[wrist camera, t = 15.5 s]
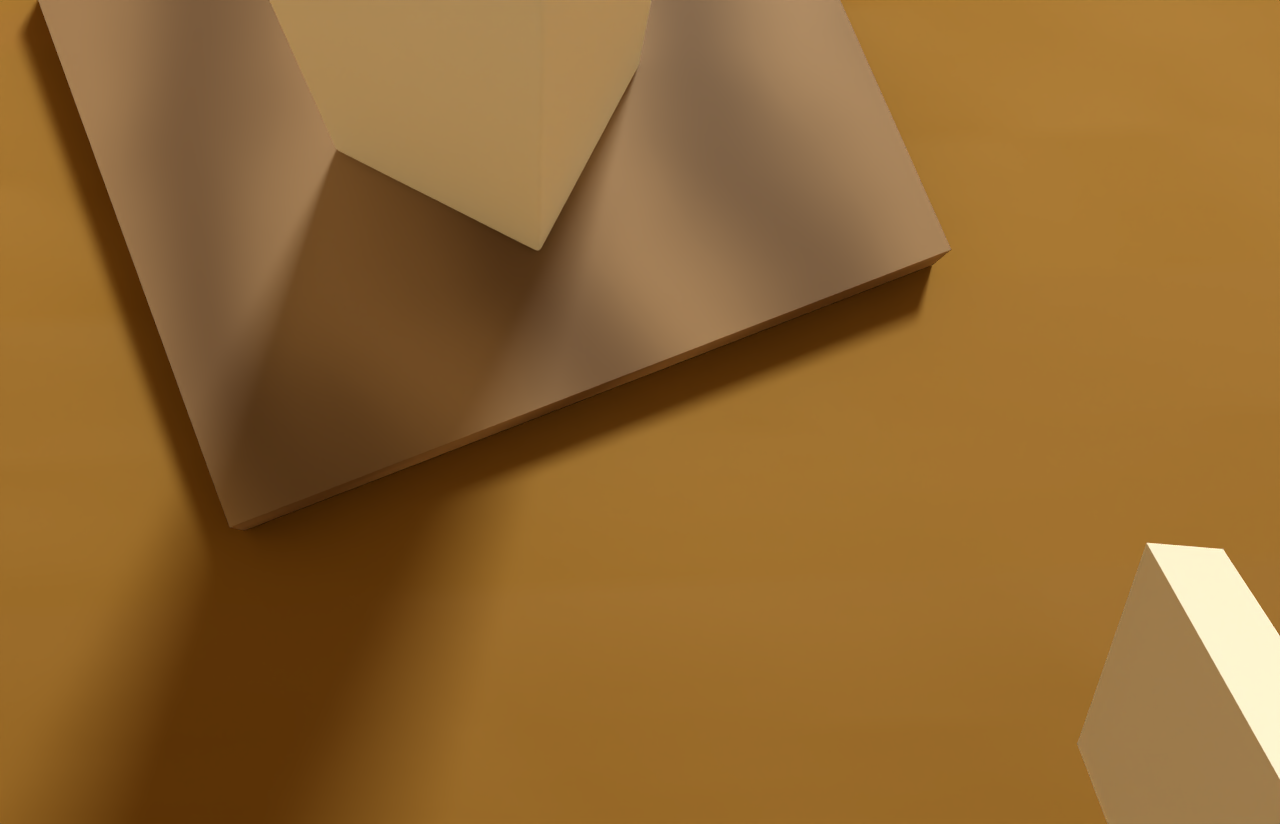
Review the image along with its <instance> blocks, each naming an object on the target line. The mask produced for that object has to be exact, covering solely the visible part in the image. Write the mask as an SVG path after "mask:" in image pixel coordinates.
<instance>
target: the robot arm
mask: <svg viewBox="0 0 1280 824" xmlns="http://www.w3.org/2000/svg"><path fill="white" fill-rule="evenodd" d="M1077 744H1078V747H1079V750H1080V752H1081V755H1082V758H1083V760H1084V763H1085V765H1086V768H1087V771H1088V773H1089V776H1090V779H1091V781H1092V784H1093V786H1094V789H1095V792H1096V794H1097V797H1098V800H1099V802H1100V805H1101V808H1102V810H1103V813H1104V815H1105V818H1106V821H1107V823H1108V824H1280V636H1279V634H1278V633H1277V631H1276V630H1275V628H1274V627H1273V625H1272V624H1271V622H1270V620H1269V619H1268V617H1267V616H1266V614H1265V613H1264V611H1263V610H1262V608H1261V607H1260V605H1259V604H1258V602H1257V601H1256V599H1255V598H1254V596H1253V594H1252V593H1251V591H1250V590H1249V588H1248V587H1247V585H1246V584H1245V582H1244V581H1243V579H1242V578H1241V576H1240V575H1239V573H1238V572H1237V570H1236V568H1235V567H1234V565H1233V564H1232V562H1231V561H1230V559H1229V558H1228V556H1227V555H1226V553H1225V552H1224V550H1223V549H1214V548H1202V547H1190V546H1178V545H1166V544H1154V543H1147V544H1146V546H1145V549H1144V552H1143V555H1142V558H1141V561H1140V564H1139V567H1138V570H1137V573H1136V575H1135V578H1134V581H1133V584H1132V587H1131V590H1130V593H1129V596H1128V599H1127V602H1126V604H1125V607H1124V610H1123V613H1122V616H1121V619H1120V622H1119V625H1118V628H1117V630H1116V633H1115V636H1114V639H1113V642H1112V645H1111V648H1110V651H1109V654H1108V657H1107V659H1106V662H1105V665H1104V668H1103V671H1102V674H1101V677H1100V680H1099V683H1098V686H1097V688H1096V691H1095V694H1094V697H1093V700H1092V703H1091V706H1090V709H1089V712H1088V714H1087V717H1086V720H1085V723H1084V726H1083V729H1082V732H1081V735H1080V738H1079V741H1078V743H1077Z"/></svg>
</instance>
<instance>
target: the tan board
mask: <svg viewBox="0 0 1280 824" xmlns="http://www.w3.org/2000/svg"><path fill="white" fill-rule="evenodd" d="M38 1H39V4H40V7H41V10H42V12H43V15H44V18H45V21H46V23H47V26H48V29H49V32H50V34H51V37H52V40H53V43H54V45H55V48H56V51H57V54H58V56H59V59H60V62H61V65H62V67H63V70H64V73H65V76H66V78H67V81H68V84H69V87H70V89H71V92H72V95H73V98H74V101H75V103H76V106H77V109H78V112H79V114H80V117H81V120H82V123H83V125H84V128H85V131H86V134H87V136H88V139H89V142H90V145H91V147H92V150H93V153H94V156H95V158H96V161H97V164H98V167H99V169H100V172H101V175H102V178H103V180H104V183H105V186H106V189H107V191H108V194H109V197H110V200H111V202H112V205H113V208H114V211H115V213H116V216H117V219H118V222H119V224H120V227H121V230H122V233H123V235H124V238H125V241H126V244H127V246H128V249H129V252H130V255H131V257H132V260H133V263H134V266H135V269H136V271H137V274H138V277H139V280H140V282H141V285H142V288H143V291H144V293H145V296H146V299H147V302H148V304H149V307H150V310H151V313H152V315H153V318H154V321H155V324H156V326H157V329H158V332H159V335H160V337H161V340H162V343H163V346H164V348H165V351H166V354H167V357H168V359H169V362H170V365H171V368H172V370H173V373H174V376H175V379H176V381H177V384H178V387H179V390H180V392H181V395H182V398H183V401H184V403H185V406H186V409H187V412H188V414H189V417H190V420H191V423H192V425H193V428H194V431H195V434H196V437H197V439H198V442H199V445H200V448H201V450H202V453H203V456H204V459H205V461H206V464H207V467H208V470H209V472H210V475H211V478H212V481H213V483H214V486H215V489H216V492H217V494H218V497H219V500H220V503H221V505H222V508H223V511H224V514H225V516H226V519H227V522H228V525H229V527H230V528H235V529H239V530H244V531H245V530H247V529H250V528H252V527H255V526H257V525H260V524H263V523H265V522H268V521H270V520H273V519H276V518H278V517H281V516H283V515H286V514H289V513H291V512H294V511H296V510H299V509H302V508H304V507H307V506H309V505H312V504H314V503H317V502H320V501H322V500H325V499H327V498H330V497H333V496H335V495H338V494H340V493H343V492H346V491H348V490H351V489H353V488H356V487H358V486H361V485H364V484H366V483H369V482H371V481H374V480H377V479H379V478H382V477H384V476H387V475H390V474H392V473H395V472H397V471H400V470H403V469H405V468H408V467H410V466H413V465H415V464H418V463H421V462H423V461H426V460H428V459H431V458H434V457H436V456H439V455H441V454H444V453H447V452H449V451H452V450H454V449H457V448H459V447H462V446H465V445H467V444H470V443H472V442H475V441H478V440H480V439H483V438H485V437H488V436H491V435H493V434H496V433H498V432H501V431H504V430H506V429H509V428H511V427H514V426H516V425H519V424H522V423H524V422H527V421H529V420H532V419H535V418H537V417H540V416H542V415H545V414H548V413H550V412H553V411H555V410H558V409H560V408H563V407H566V406H568V405H571V404H573V403H576V402H579V401H581V400H584V399H586V398H589V397H592V396H594V395H597V394H599V393H602V392H605V391H607V390H610V389H612V388H615V387H617V386H620V385H623V384H625V383H628V382H630V381H633V380H636V379H638V378H641V377H643V376H646V375H649V374H651V373H654V372H656V371H659V370H661V369H664V368H667V367H669V366H672V365H674V364H677V363H680V362H682V361H685V360H687V359H690V358H693V357H695V356H698V355H700V354H703V353H706V352H708V351H711V350H713V349H716V348H718V347H721V346H724V345H726V344H729V343H731V342H734V341H737V340H739V339H742V338H744V337H747V336H750V335H752V334H755V333H757V332H760V331H763V330H765V329H768V328H770V327H773V326H775V325H778V324H781V323H783V322H786V321H788V320H791V319H794V318H796V317H799V316H801V315H804V314H807V313H809V312H812V311H814V310H817V309H819V308H822V307H825V306H827V305H830V304H832V303H835V302H838V301H840V300H843V299H845V298H848V297H851V296H853V295H856V294H858V293H861V292H864V291H866V290H869V289H871V288H874V287H876V286H879V285H882V284H884V283H887V282H889V281H892V280H895V279H897V278H900V277H902V276H905V275H908V274H910V273H913V272H915V271H918V270H920V269H923V268H926V267H928V266H931V265H933V264H934V263H936V262H937V261H938V260H939V259H940V258H942V257H943V256H944V255H945V254H946V253H948V252H949V251H950V250H951V248H950V245H949V243H948V241H947V239H946V237H945V234H944V232H943V230H942V228H941V225H940V223H939V221H938V219H937V216H936V214H935V212H934V210H933V207H932V205H931V203H930V201H929V198H928V196H927V194H926V192H925V189H924V187H923V185H922V183H921V180H920V178H919V176H918V174H917V171H916V169H915V167H914V165H913V162H912V160H911V158H910V156H909V154H908V151H907V149H906V147H905V145H904V142H903V140H902V138H901V136H900V133H899V131H898V129H897V127H896V124H895V122H894V120H893V118H892V115H891V113H890V111H889V109H888V106H887V104H886V102H885V100H884V97H883V95H882V93H881V91H880V88H879V86H878V84H877V82H876V79H875V77H874V75H873V73H872V71H871V68H870V66H869V64H868V62H867V59H866V57H865V55H864V53H863V50H862V48H861V46H860V44H859V41H858V39H857V37H856V35H855V32H854V30H853V28H852V26H851V23H850V21H849V19H848V17H847V14H846V12H845V10H844V8H843V5H842V3H841V1H840V0H651V5H650V10H649V16H648V21H647V26H646V31H645V36H644V41H643V46H642V51H641V56H640V61H639V65H638V67H637V69H636V71H635V73H634V75H633V77H632V79H631V81H630V82H629V84H628V86H627V88H626V90H625V92H624V94H623V96H622V97H621V99H620V101H619V103H618V105H617V107H616V109H615V111H614V113H613V114H612V116H611V118H610V120H609V122H608V124H607V126H606V128H605V129H604V131H603V133H602V135H601V137H600V139H599V141H598V143H597V144H596V146H595V148H594V150H593V152H592V154H591V156H590V158H589V159H588V161H587V163H586V165H585V167H584V169H583V171H582V173H581V175H580V176H579V178H578V180H577V182H576V184H575V186H574V188H573V190H572V191H571V193H570V195H569V197H568V199H567V201H566V203H565V205H564V206H563V208H562V210H561V212H560V214H559V216H558V218H557V220H556V221H555V223H554V225H553V227H552V229H551V231H550V233H549V235H548V237H547V238H546V240H545V242H544V244H543V246H542V248H541V249H540V250H538V251H537V250H534V249H532V248H530V247H528V246H526V245H524V244H522V243H520V242H518V241H516V240H514V239H512V238H510V237H508V236H506V235H504V234H502V233H500V232H498V231H496V230H494V229H492V228H490V227H488V226H486V225H484V224H482V223H480V222H478V221H476V220H474V219H473V218H471V217H469V216H467V215H465V214H463V213H461V212H459V211H457V210H455V209H453V208H451V207H449V206H447V205H445V204H443V203H441V202H439V201H437V200H435V199H433V198H431V197H429V196H427V195H425V194H423V193H421V192H419V191H417V190H415V189H413V188H411V187H409V186H407V185H405V184H403V183H401V182H399V181H397V180H395V179H393V178H391V177H389V176H387V175H385V174H383V173H381V172H379V171H377V170H375V169H373V168H371V167H369V166H367V165H365V164H363V163H362V162H360V161H358V160H356V159H354V158H352V157H350V156H348V155H346V154H344V153H342V152H340V151H338V150H337V149H336V147H335V145H334V143H333V141H332V139H331V137H330V134H329V132H328V130H327V128H326V125H325V123H324V121H323V119H322V116H321V114H320V112H319V110H318V107H317V105H316V103H315V101H314V99H313V96H312V94H311V92H310V90H309V87H308V85H307V83H306V81H305V78H304V76H303V74H302V72H301V70H300V67H299V65H298V63H297V61H296V58H295V56H294V54H293V52H292V49H291V47H290V45H289V43H288V40H287V38H286V36H285V34H284V32H283V29H282V27H281V25H280V23H279V20H278V18H277V16H276V14H275V11H274V9H273V7H272V5H271V3H270V0H38Z"/></svg>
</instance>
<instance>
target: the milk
mask: <svg viewBox="0 0 1280 824" xmlns="http://www.w3.org/2000/svg"><path fill="white" fill-rule="evenodd" d="M270 3H271V5H272V7H273V9H274V11H275V14H276V16H277V18H278V20H279V23H280V25H281V27H282V29H283V32H284V34H285V36H286V38H287V40H288V43H289V45H290V47H291V49H292V52H293V54H294V56H295V58H296V61H297V63H298V65H299V67H300V70H301V72H302V74H303V76H304V78H305V81H306V83H307V85H308V87H309V90H310V92H311V94H312V96H313V99H314V101H315V103H316V105H317V107H318V110H319V112H320V114H321V116H322V119H323V121H324V123H325V125H326V128H327V130H328V132H329V134H330V137H331V139H332V141H333V143H334V145H335V147H336V149H337V150H338V151H340V152H342V153H344V154H346V155H348V156H350V157H352V158H354V159H356V160H358V161H360V162H362V163H363V164H365V165H367V166H369V167H371V168H373V169H375V170H377V171H379V172H381V173H383V174H385V175H387V176H389V177H391V178H393V179H395V180H397V181H399V182H401V183H403V184H405V185H407V186H409V187H411V188H413V189H415V190H417V191H419V192H421V193H423V194H425V195H427V196H429V197H431V198H433V199H435V200H437V201H439V202H441V203H443V204H445V205H447V206H449V207H451V208H453V209H455V210H457V211H459V212H461V213H463V214H465V215H467V216H469V217H471V218H473V219H474V220H476V221H478V222H480V223H482V224H484V225H486V226H488V227H490V228H492V229H494V230H496V231H498V232H500V233H502V234H504V235H506V236H508V237H510V238H512V239H514V240H516V241H518V242H520V243H522V244H524V245H526V246H528V247H530V248H532V249H534V250H537V251H538V250H540V249H541V248H542V246H543V244H544V242H545V240H546V238H547V237H548V235H549V233H550V231H551V229H552V227H553V225H554V223H555V221H556V220H557V218H558V216H559V214H560V212H561V210H562V208H563V206H564V205H565V203H566V201H567V199H568V197H569V195H570V193H571V191H572V190H573V188H574V186H575V184H576V182H577V180H578V178H579V176H580V175H581V173H582V171H583V169H584V167H585V165H586V163H587V161H588V159H589V158H590V156H591V154H592V152H593V150H594V148H595V146H596V144H597V143H598V141H599V139H600V137H601V135H602V133H603V131H604V129H605V128H606V126H607V124H608V122H609V120H610V118H611V116H612V114H613V113H614V111H615V109H616V107H617V105H618V103H619V101H620V99H621V97H622V96H623V94H624V92H625V90H626V88H627V86H628V84H629V82H630V81H631V79H632V77H633V75H634V73H635V71H636V69H637V67H638V65H639V61H640V56H641V51H642V46H643V41H644V36H645V31H646V26H647V21H648V16H649V10H650V5H651V0H270Z"/></svg>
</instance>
